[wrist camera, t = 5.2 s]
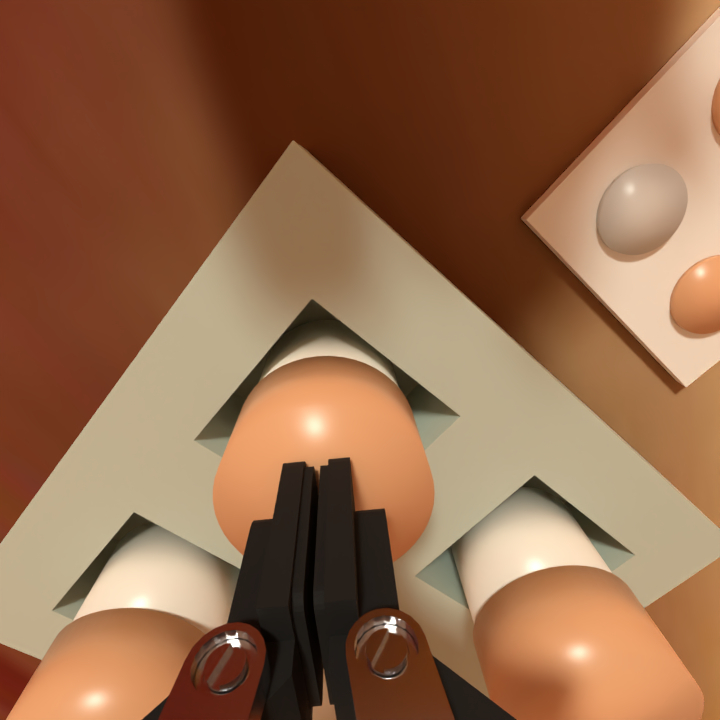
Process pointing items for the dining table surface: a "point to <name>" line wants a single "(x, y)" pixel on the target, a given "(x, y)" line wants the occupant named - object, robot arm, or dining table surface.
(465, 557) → the button
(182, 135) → the dining table surface
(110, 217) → the dining table surface
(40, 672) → the button
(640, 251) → the pattern tile
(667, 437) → the dining table surface
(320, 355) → the button
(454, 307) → the board
